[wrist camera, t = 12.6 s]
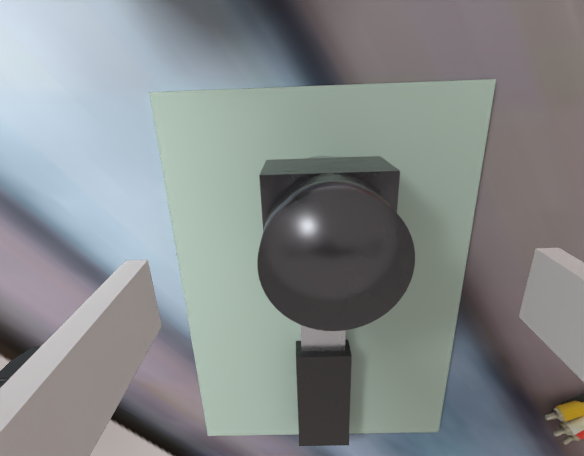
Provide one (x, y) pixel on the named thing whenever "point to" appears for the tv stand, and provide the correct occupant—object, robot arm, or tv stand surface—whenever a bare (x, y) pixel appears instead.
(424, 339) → the tool mat
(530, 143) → the tv stand surface
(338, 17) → the tv stand surface
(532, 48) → the tv stand surface
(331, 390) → the ratchet
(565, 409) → the composite cable
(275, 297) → the dark grey door knob
